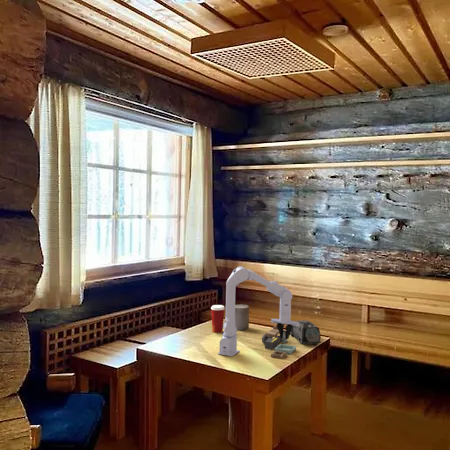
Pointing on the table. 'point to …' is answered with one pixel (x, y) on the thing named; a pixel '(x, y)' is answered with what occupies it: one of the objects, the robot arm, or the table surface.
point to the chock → (271, 343)
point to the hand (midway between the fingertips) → (284, 338)
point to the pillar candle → (242, 317)
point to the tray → (285, 348)
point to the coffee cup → (217, 318)
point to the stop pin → (284, 336)
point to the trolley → (272, 335)
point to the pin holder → (278, 354)
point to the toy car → (306, 332)
